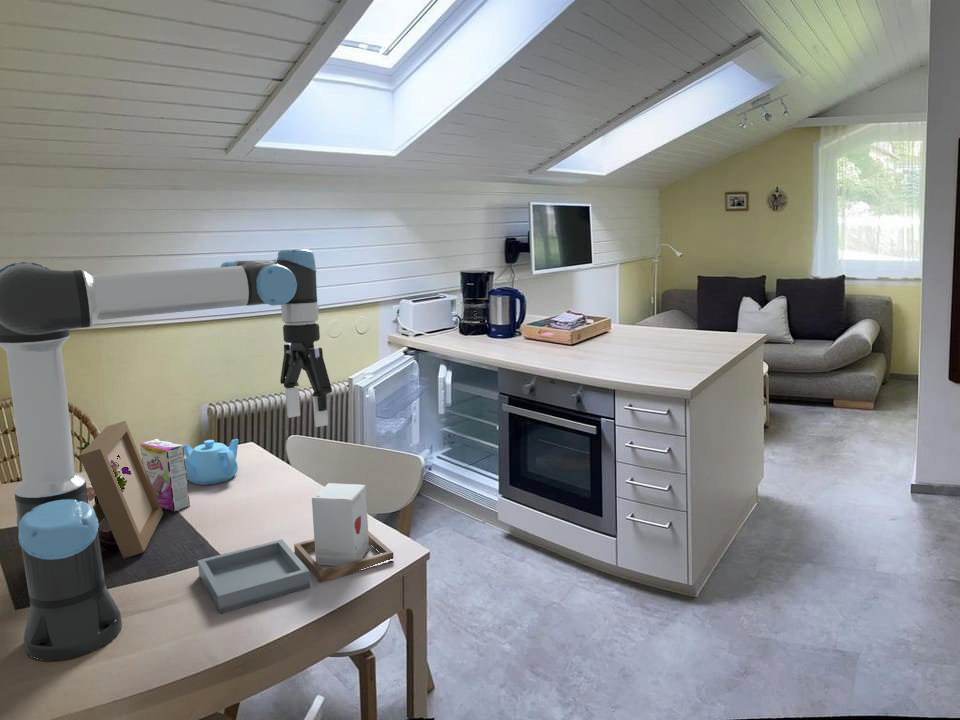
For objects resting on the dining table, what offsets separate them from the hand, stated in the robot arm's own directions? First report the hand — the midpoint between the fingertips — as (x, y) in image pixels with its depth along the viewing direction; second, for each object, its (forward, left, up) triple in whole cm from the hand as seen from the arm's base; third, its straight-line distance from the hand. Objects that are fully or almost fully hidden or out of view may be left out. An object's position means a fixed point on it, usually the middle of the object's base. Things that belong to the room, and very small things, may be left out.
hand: (307, 421), depth 163 cm
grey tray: (-17, -11, -28) cm, 34 cm away
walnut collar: (+2, -11, -28) cm, 30 cm away
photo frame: (-37, +27, -28) cm, 54 cm away
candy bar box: (-24, +42, -28) cm, 56 cm away
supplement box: (+2, -11, -28) cm, 30 cm away
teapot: (-10, +57, -28) cm, 65 cm away
